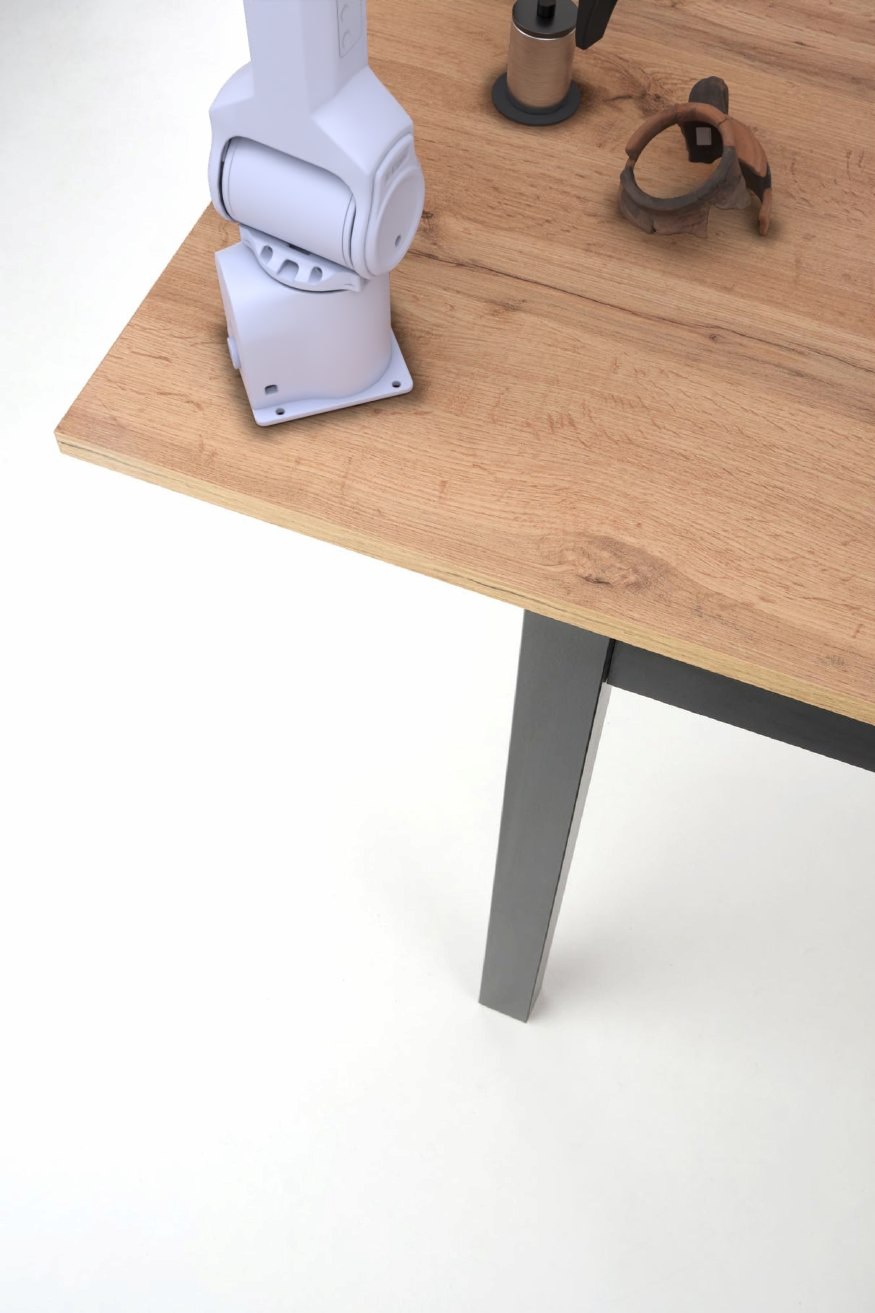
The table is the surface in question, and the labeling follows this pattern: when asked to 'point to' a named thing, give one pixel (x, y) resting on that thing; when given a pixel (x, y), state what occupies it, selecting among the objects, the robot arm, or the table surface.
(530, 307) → the table surface
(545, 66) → the steel pot
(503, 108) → the trivet
